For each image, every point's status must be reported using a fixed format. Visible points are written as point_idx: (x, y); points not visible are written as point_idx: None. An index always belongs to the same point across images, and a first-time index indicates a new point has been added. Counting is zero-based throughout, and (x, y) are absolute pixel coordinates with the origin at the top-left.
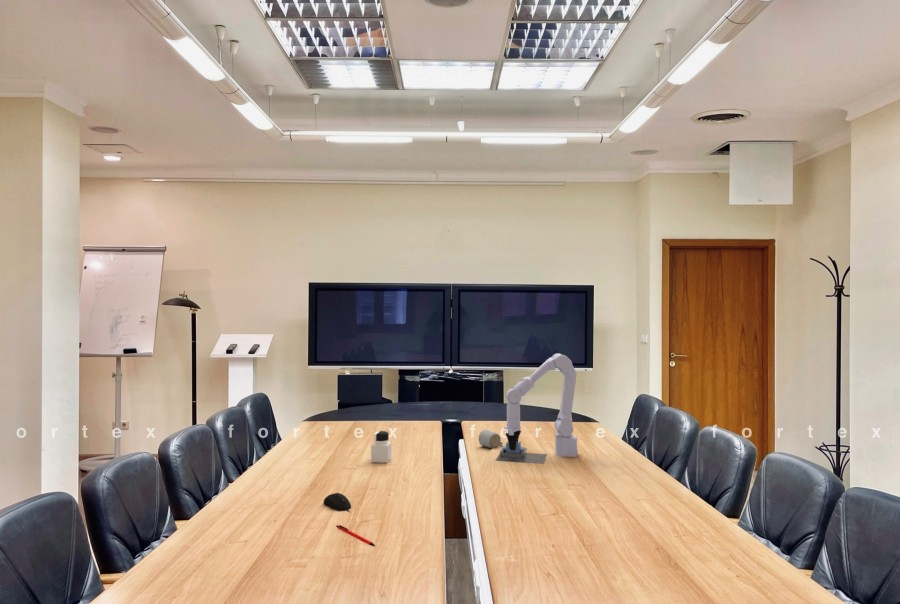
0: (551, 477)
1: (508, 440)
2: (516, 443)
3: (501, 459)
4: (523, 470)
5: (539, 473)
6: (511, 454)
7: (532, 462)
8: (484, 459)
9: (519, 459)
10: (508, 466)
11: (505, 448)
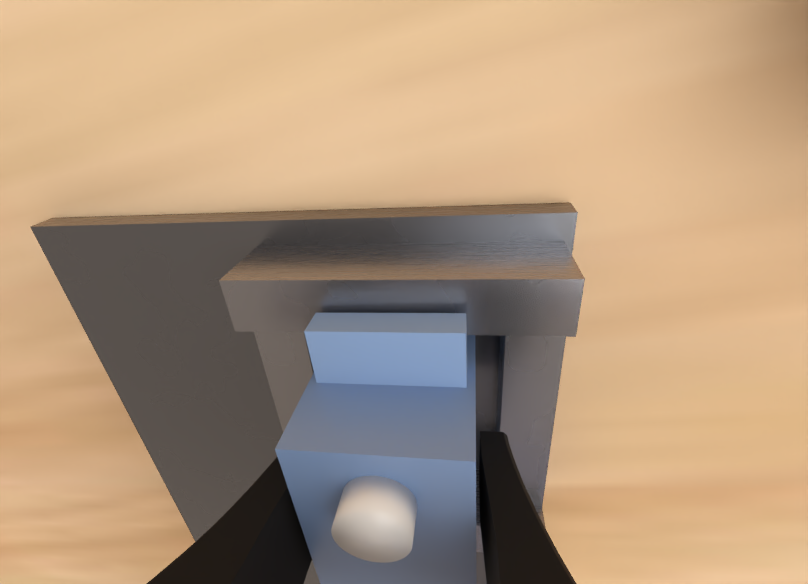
0: (27, 578)
1: (175, 565)
2: (350, 573)
3: (131, 290)
4: (28, 466)
5: (46, 539)
6: (278, 402)
7: (207, 529)
8: (89, 11)
9: (242, 449)
10: (35, 364)
11: (317, 368)
